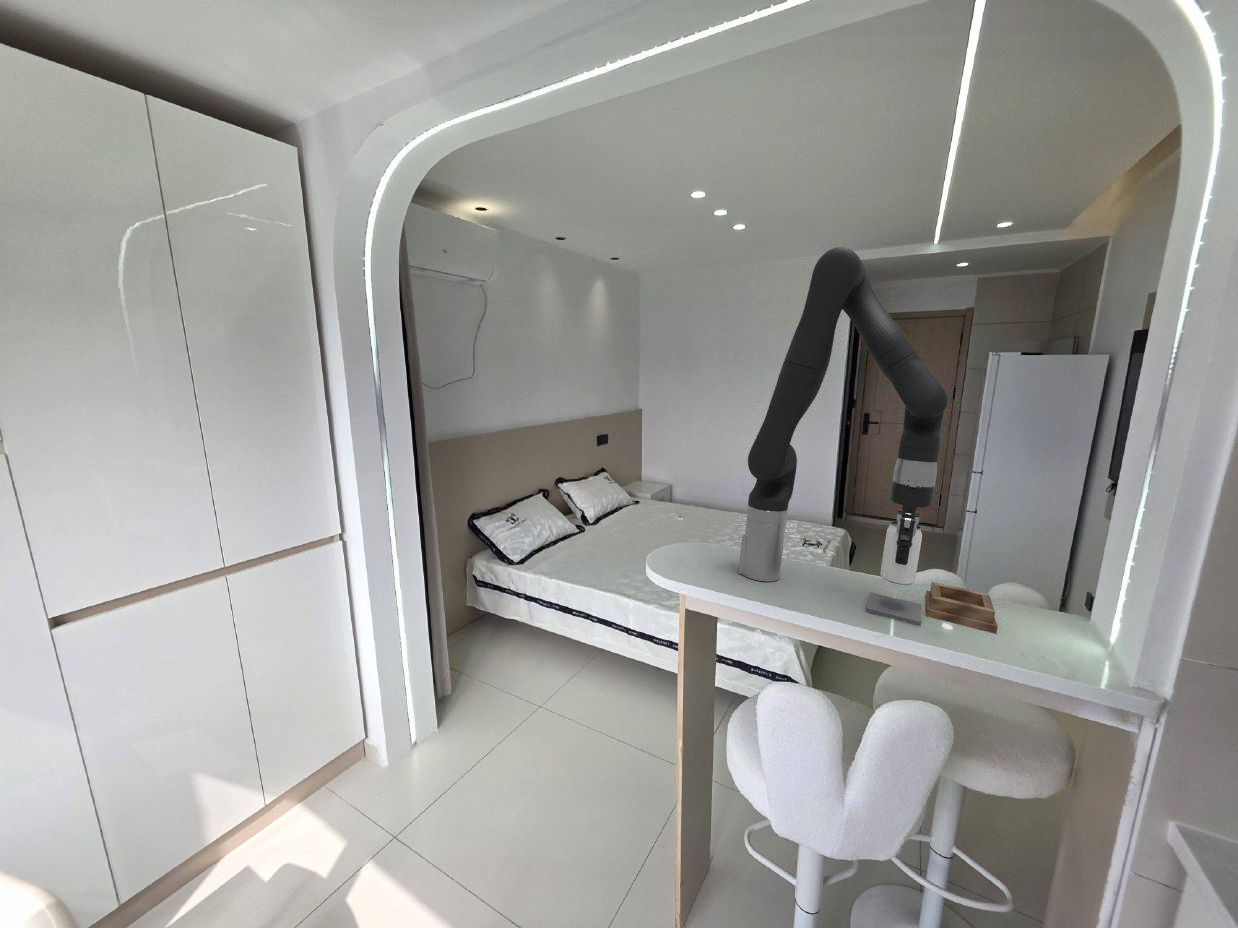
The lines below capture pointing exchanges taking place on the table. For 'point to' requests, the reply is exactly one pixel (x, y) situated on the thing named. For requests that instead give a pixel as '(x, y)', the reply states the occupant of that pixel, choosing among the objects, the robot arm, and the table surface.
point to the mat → (894, 608)
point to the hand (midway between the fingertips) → (901, 558)
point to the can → (889, 566)
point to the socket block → (961, 607)
